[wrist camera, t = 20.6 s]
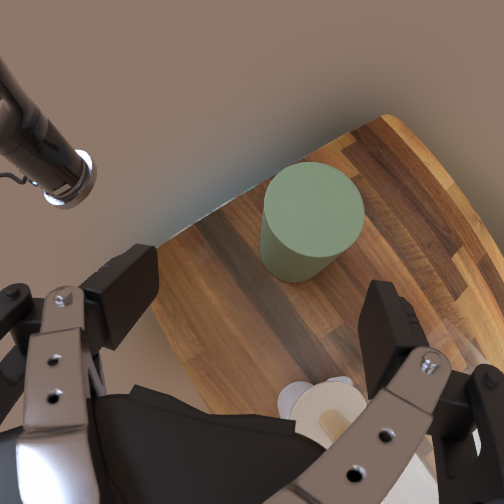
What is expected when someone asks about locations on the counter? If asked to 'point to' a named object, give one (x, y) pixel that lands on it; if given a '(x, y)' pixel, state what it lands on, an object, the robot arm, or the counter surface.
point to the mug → (298, 394)
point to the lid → (327, 411)
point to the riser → (308, 220)
